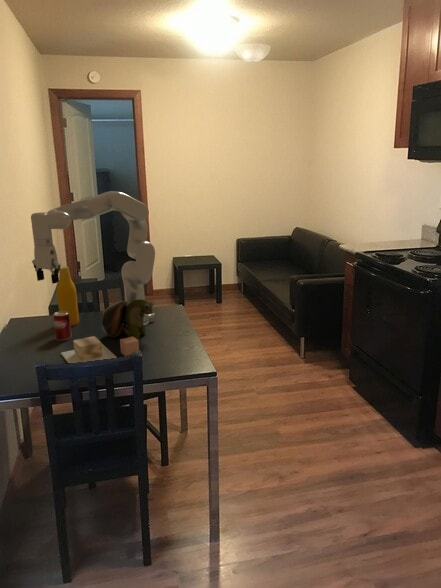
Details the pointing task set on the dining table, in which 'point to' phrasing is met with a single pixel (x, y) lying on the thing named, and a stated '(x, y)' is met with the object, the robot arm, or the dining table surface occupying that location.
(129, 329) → the brown green figure
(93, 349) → the maple block
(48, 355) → the dining table surface
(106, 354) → the plate
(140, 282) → the robot arm
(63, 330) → the soda can
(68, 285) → the beer bottle
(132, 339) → the pink cube
